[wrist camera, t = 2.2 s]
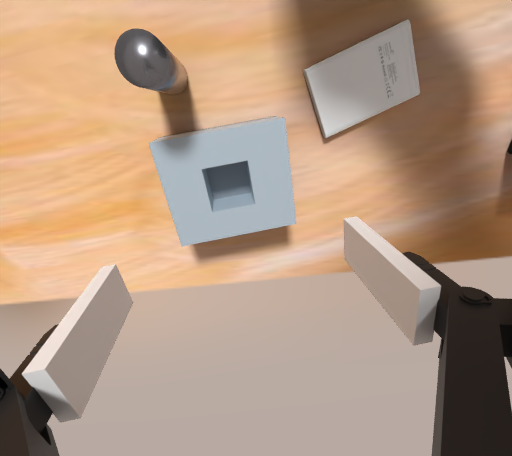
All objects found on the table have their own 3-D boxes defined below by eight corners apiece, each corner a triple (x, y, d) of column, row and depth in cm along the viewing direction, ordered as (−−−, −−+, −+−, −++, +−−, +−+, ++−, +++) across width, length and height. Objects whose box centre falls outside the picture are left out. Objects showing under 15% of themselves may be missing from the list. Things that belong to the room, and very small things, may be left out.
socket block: (160, 136, 32) (148, 143, 27) (274, 116, 33) (284, 118, 28) (187, 226, 38) (181, 246, 32) (285, 207, 38) (296, 223, 33)
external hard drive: (301, 70, 32) (401, 21, 31) (322, 137, 35) (413, 95, 34) (305, 69, 30) (410, 17, 29) (326, 138, 34) (421, 94, 33)
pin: (149, 60, 29) (106, 33, 18) (182, 54, 29) (158, 24, 18) (159, 96, 31) (125, 91, 20) (191, 91, 31) (174, 83, 20)
